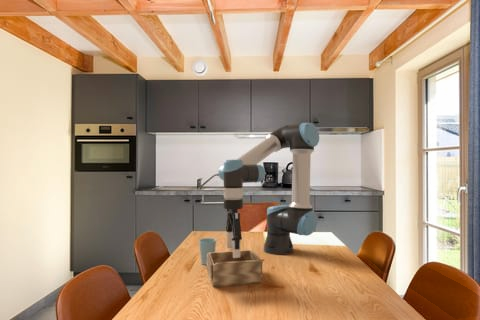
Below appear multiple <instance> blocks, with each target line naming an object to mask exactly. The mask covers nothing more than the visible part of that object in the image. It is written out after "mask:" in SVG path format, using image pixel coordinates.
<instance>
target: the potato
mask: <svg viewBox="0 0 480 320" xmlns="http://www.w3.org/2000/svg"><path fill="white" fill-rule="evenodd" d="M232 261H246V260H245V258H244V257H243V256H242V255H240V258H233V253H229V254H228V255H227V256H226V257H225V260H224V262H232Z"/></svg>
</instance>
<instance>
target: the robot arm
mask: <svg viewBox="0 0 480 320" xmlns="http://www.w3.org/2000/svg"><path fill="white" fill-rule="evenodd" d="M319 142H320V133H319V130H318V128H317V126H316V125H315V124H313V123H312V122H302V123H301V122H300V123H299V122H298V123H293V124H286V125H283V126H280V127H279V128H277V129H274V130H273V131H272V132H270V133H269V134H268V135H266V136H265V139H263V140H261V142H260V143H258V144H257V145H255V146H254V147H252V148H250V149H249V150H248V151H246V152H245V153H244V154H242V155H241V156H239V157H238V158H235V159H225V160H224V161H223V164H222V165H221V166H220V167H219V169H218V176H219V179H220V180H221V181H223V190H222V191H221V192H222V193H223V198H224V199H223V209H225V210H226V224H225V229H226V249H232V251H233V258H240V251H241V240H242V238H243V237H242V236H243V235H242V228H241V227H242V226H241V214H240V212H238V210H241V209H243V208H244V207H243V206H244V205H243V204H244V203H243V199H242V198H243V197H244V195H243V193H244V191H243V189H244V188H243V186H244V185H243V184H244V183H249V184H250V183H252V184H253V183H255V184H256V183H260V182H262V181H263V180H265V178H266V177H265V176H266V171H265V167H263V165H261V164H259V163H260V162H262V161H263V160H264V159H266V158H268V157H269V156H270V155H271V154H273V153H277V152H279V151H281V150H283V149H287V148H288V149H289V151H290V152H291V153H292V167H291V169H292V170H291V171H292V174H291V175H292V178H291V203H289V204H286V205H283V204H282V205H273V206H268V207H267V209H266V212H267V213H266V238H265V241H264V244H263V251H264V252H265V253H268V254H272V255H287V254H292V253H293V252H294V244H293V241H292V239H291V238H292V237H291V234H295V235H299V236H307V237H308V236H310V235H312V234H313V233H314V232H315V230H316V228H317V227H318V226H317V225H318V220H319V219H318V216H317V213H316V212H315V211H314V210H313V209H314V208H313V206H312V204H310V202H311V201H310V199H311V197H310V194H311V191H310V190H311V158H312V157H311V155H312V153H313V152H315V147H317V146H318V145H319ZM290 233H291V234H290Z"/></svg>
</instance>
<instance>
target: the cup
mask: <svg viewBox="0 0 480 320" xmlns="http://www.w3.org/2000/svg"><path fill="white" fill-rule="evenodd" d="M198 242H199V252H200V259H201V260H200V261H201V263H200V264H201V265H202V266H203V265H204V266H207V254H208V253H209V252H216V246H217V239H215V238H212V237H208V238H200V239H199V240H198Z"/></svg>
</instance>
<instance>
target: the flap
mask: <svg viewBox="0 0 480 320" xmlns="http://www.w3.org/2000/svg"><path fill="white" fill-rule="evenodd" d="M260 259H261V260H246V261H232V262H217V263H215V265H225V264H239V263H253V262H262V263H263V262H265V259H264V258H263V259H262V258H260Z"/></svg>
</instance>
